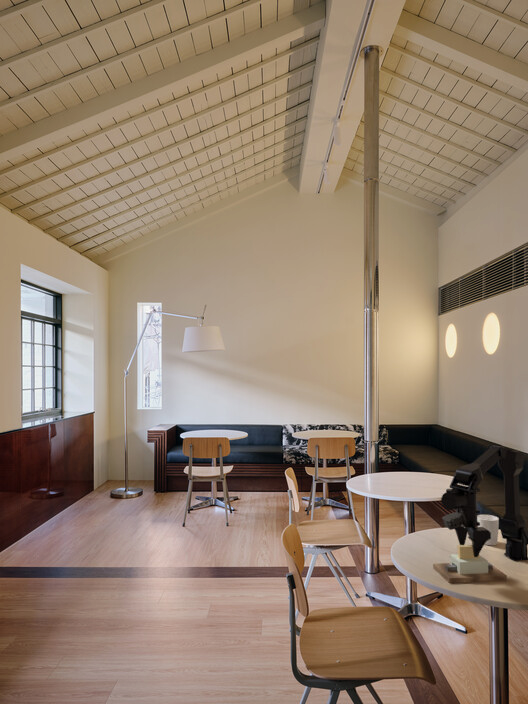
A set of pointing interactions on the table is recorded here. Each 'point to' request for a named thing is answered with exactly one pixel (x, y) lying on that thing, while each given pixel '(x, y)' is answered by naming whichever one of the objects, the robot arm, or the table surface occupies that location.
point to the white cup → (490, 527)
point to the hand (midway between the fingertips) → (468, 551)
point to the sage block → (468, 561)
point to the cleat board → (453, 576)
